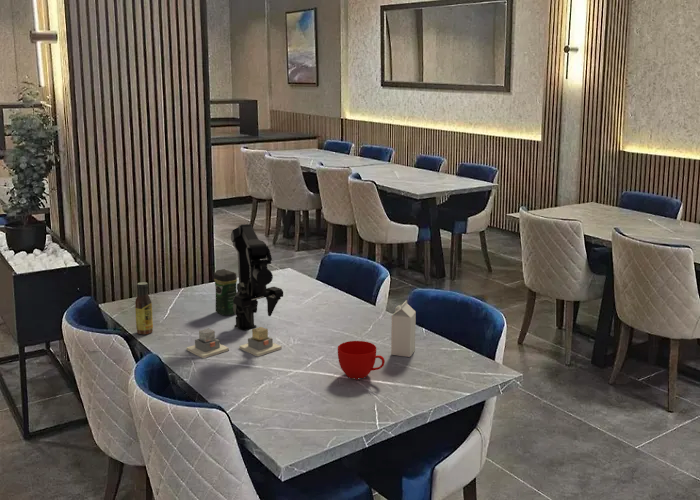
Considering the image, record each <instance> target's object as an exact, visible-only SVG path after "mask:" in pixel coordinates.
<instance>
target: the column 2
mask: <svg viewBox="0 0 700 500" xmlns="http://www.w3.org/2000/svg"><path fill="white" fill-rule="evenodd" d="M251 331H252V332H251V333H252V338H253V340H256V341H258V342H260V341H263V340H267V339H268V337H269V332H268V331H269V330H268V328H265V327H262V326H259V327H254V328H251Z"/></svg>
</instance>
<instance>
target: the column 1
mask: <svg viewBox="0 0 700 500" xmlns="http://www.w3.org/2000/svg"><path fill="white" fill-rule="evenodd" d="M215 334H216V332H215V330H213V329H211V328H204V329H201V330H198V336H199V338H198V339H199V340H200V341H201V342H203V343H209V342H212V341H215V338H216V336H215Z"/></svg>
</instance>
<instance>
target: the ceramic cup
mask: <svg viewBox="0 0 700 500" xmlns="http://www.w3.org/2000/svg"><path fill="white" fill-rule="evenodd" d="M337 346H338V347H337V360H338V364H339V367H340V369H341V371H342V372H343V373H344V374H345V375H346V377H347V378H349V377H350V378H349V379H351V378H355V379H354V380H359V379H358V378H363V379H365V378H366V377H368V375H369V374H370V373H371V372H373V371H378V370H380V369H381V368H383V367H384V366H385V363H386V360H385V357H383V356H382V355H381V354H380V355H379V354H378V355H377V346H376V345H375V344H374V343H373V342H369V341H365V340H349V341H345V342H342V343H341V344H339V345H337ZM376 359H380V360H381V364H380V366H377V367H374V366H375V364H376ZM364 377H365V378H364Z"/></svg>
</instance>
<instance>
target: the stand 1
mask: <svg viewBox="0 0 700 500" xmlns="http://www.w3.org/2000/svg"><path fill="white" fill-rule="evenodd" d="M220 341H221V340H220V339H218V338H216V337H215V341H212V342H209V343H203V342H201V341H200V340H199V338H198V339H196V338H195V339H194V345H190V346H187V347H186V349H185V350H186V351H187V352H190V353H191V354H193V355H195V356H197V357H198V358H199V357H200V358H201V359H206V358H209V357H212V356H216V355H218V354H222V353H225V352H229V351H230V349H229V347H228V346H225V345H224V344H221V343H220Z"/></svg>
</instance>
